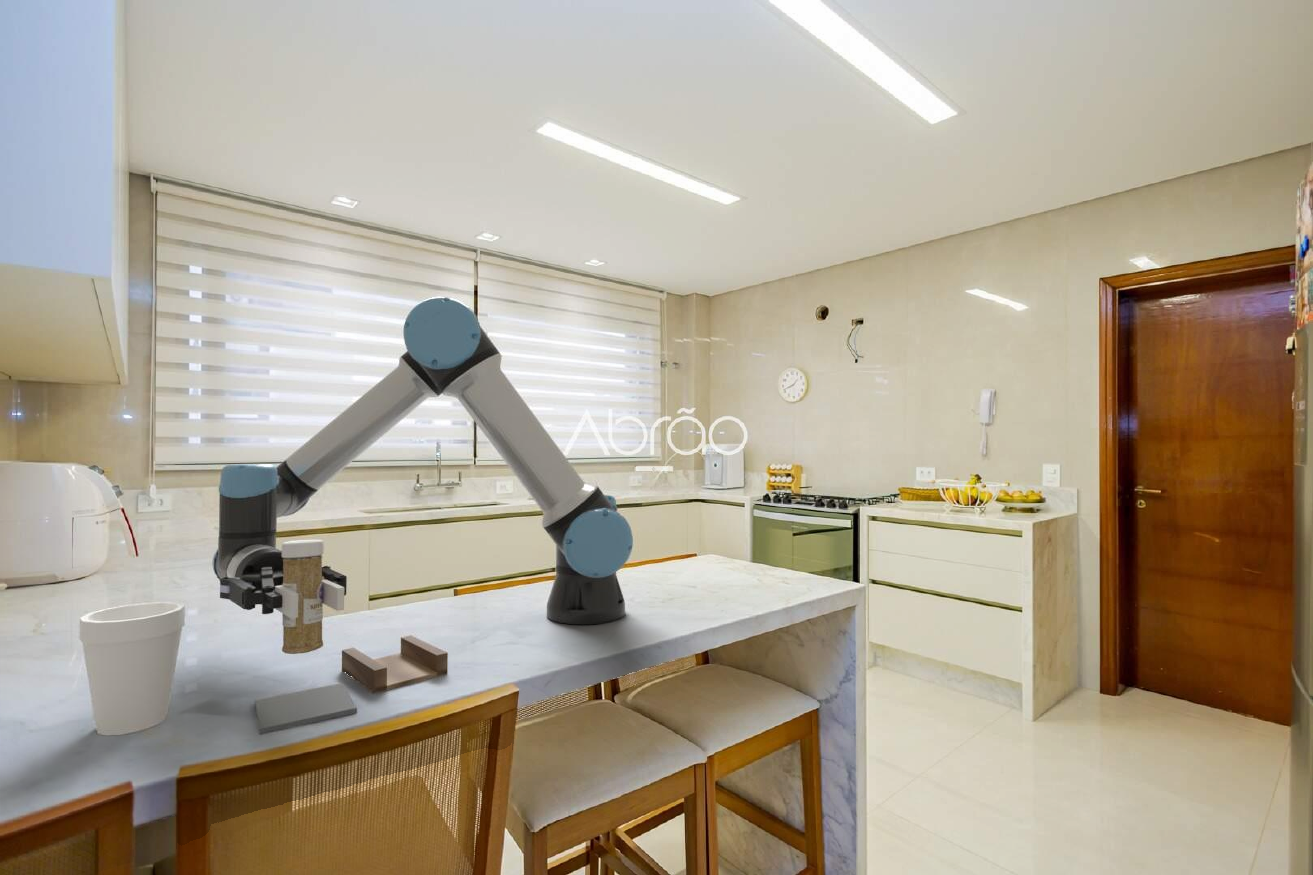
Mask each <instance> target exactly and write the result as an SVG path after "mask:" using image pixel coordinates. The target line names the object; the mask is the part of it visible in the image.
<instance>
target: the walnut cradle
mask: <svg viewBox="0 0 1313 875" xmlns="http://www.w3.org/2000/svg"><path fill="white" fill-rule="evenodd" d="M448 656H449V654H448V652H447V651H444V650H442V649H441V648H438V647H437V646H436V645H432V644H431V643H428V642H426V641H424V640H422V639H419V638H417V637H415V636H413V635H407V636H402V637H400V653H397V654H396V653H395V654H391V655H386V656H384V657H378V658H372V657H370V656H368V655H366V654H365V653H363V652H361V651H360V650H358V649H357V648H355V647H350V648H346V649H342V650H341V671H342V672H343V673H344V672H346V675H347V674H348V675H349V676H348V675H347V676H348V677H350V676H352V677H353V678H354V679H355V680H354V679H353V678H352V679H353V680H354V681H355V682H357V681H358V682H359V683H358V682H357V683H358V684H360V685H362V686H363V687H364V686H365V688H366V689H367V690H368V691H370V690H371V691H370V692H371V693H373V694H374V693H375V694H377V693H381V692H384V691H385V690H386V691H389V690H392V689H396V688H400V686H401V687H403V686H408V685H411V684H414V683H418V682H422V681H427V680H429V679H430V680H431V679H434V678H437V677H441V676H444V675H448V673H449V672H448V669H449V668H448V660H449V659H448ZM388 689H389V690H388ZM386 691H385V692H386Z"/></svg>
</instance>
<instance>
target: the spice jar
mask: <svg viewBox="0 0 1313 875" xmlns="http://www.w3.org/2000/svg"><path fill="white" fill-rule="evenodd" d="M324 547H325V546H324V541H323V539H315V538H313V539H312V538H311V539H298V540H297V539H295V540H289V541H283V542H282V543H281V551H282V557H283V558H284V559H283V563H284V564H283V586H285V587H286V588H288V589H290V590H292V591H294V592H296V593H298V617H297V618H289V617H287V616H286V615H284V614H283V613H282V628H283V632H282V633H283V634H282V635H283V646H282V647H281V651H282V652H283V653H284V654H289V655H291V654H292V655H297V654H308V653H310V652H313V651H316V650H319V649H321V648H322V647H324V641H323V613H324V611H323V605H324V604H323V598H322V567H323V561H322V559H323V555H324V553H325V552H324Z"/></svg>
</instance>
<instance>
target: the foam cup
mask: <svg viewBox="0 0 1313 875" xmlns="http://www.w3.org/2000/svg"><path fill="white" fill-rule="evenodd" d="M185 607H186V606H185V605H184V604H183V603H181V602H173V601H157V602H155V601H154V602H143V603H135V604H126V605H125V604H124V605H119V606H114V607H113V606H112V607H109V608H103V609H100V610H97V611H96V610H95V611H92V612H88V613H86V614H84V615H82V616H81V617H79V636H78V637H79V638H78V639H79V640H80V641H81V643H82V648H83V654H84V656H83V657H84V660H85V668H86V674H87V680H88V681H87V682H88V688H89V694H90V698H91V707H92V713H93V720H94V725H95V727H96V729H95V730H96V732H97V734H98V735H102V736H117V735H118V736H121V735H126V734H130V733H132V734H133V733H137V732H139V731H143V730H146V729H149V728H152V727H154V726H156V725H158V724H160V723H162V722H164V720H165V719H166V718H167V716H168V712H169V707H170V702H171V701H170V700H171V694H172V689H173V684H174V678H175V672H176V666H177V662H178V660H177V659H178V655H179V648H180V642H181V635H182V631H183V627H184V626H185V625H186V624H185V623H186V622H185V620H186V619H185V618H186V613H185V612H186V608H185Z"/></svg>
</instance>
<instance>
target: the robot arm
mask: <svg viewBox="0 0 1313 875" xmlns="http://www.w3.org/2000/svg"><path fill="white" fill-rule="evenodd" d="M403 341H404V344H405V348H406V350H407V351H406V352H404V353H403V354H402V355H400V356H399V358H398V366H396V367H395V368H394V369H393V370H392V371H390V372H389V374H387V375H386V376H384V378H382V379H381V380H380V381H379V382H378V383H376V384H375V385H374V386H372V387H371V388H370V389H369V390H368V391H366V392H365V393H364V394H363V395H362V396H361V397H359V398H358V399H357V400H355V402H353V403H352V404H351V405H349V407H347V408H346V409H345V410H344V411H343V412H341V413H340V414H339V415H338V416H336V417H335V418H334V419H333V420H332V421H330V422H329V423H328V424H326V425H325V426H324V427H323V428H322V429H321V430H319V431H318V432H317V433H315V435H314V436H312V437H311V438H310V439H309V440H308V441H306V442H305V443H304V444H303V445H302V446H300V447H299V448H298V449H297V450H296V451H294V452H293V453H292V454H291V455H289V456H288V457H287V458H286V459H285V460H284V461H283V462H281V463H280V464H278V465H277V466H276V465H274V464H270V463H269V464H267V463H256V464H255V463H239V464H238V463H236V464H233V463H231V464H226V465H225V466H223V467H222V468H221V472H220V480H219V485H218V492H219V504H218V505H219V510H218V511H219V517H218V518H219V522H218V523H219V524H218V526H219V529H218V536H217V537H218V541H217V542H218V543H217V544H218V547H217V550H216V551H215V553H214V554H213V558H212V570H213V572H214V574H215V576H216V578H217V579H218V580H219V598H220V599H223V600H224V599H225V600H229V601H230V602H232V603H234V604H235V605H237V606H238V607H240V608H241V609H243V610H247V611H251V610H252V609H255V608H256V605H261V614H262V615H270V614H273V613H274V609H275V610H277V611H278V612H279V613H281V614H282V615H283V614H284V615H286V616H287V617H289V618H297V617H298V593H296V592H294V591H292V590H290V589H288V588H286V587H285V586H283V564H284V563H283V559H284V558H283V557H282V549H281V550H280V549H278V548H277V525H278V524H277V520H278V518H280V517H287V516H291V515H294V514H295V513H297V512H298V511H300V510H302V509H303V508H304V507H305V506H307V504H308V502H309V500H310V499H311V497H313V496H314V495H315V494H316V493H317V492H318V491H319V490H320V489H321V488H322V487H324V486H325V485H326V484H327V483H329V482H330V481H331V480H332V479H333V478H334V477H335V476H337V475H338V474H339V473H340V472H341V471H343V469H346V467H347V466H348V465H350V464H351V463H352V462H353V461H355V460H356V459H357V458H358V457H359V456H360V455H362V454H363V453H364V452H366V450H368V449H369V448H370V447H371V446H373V444H375V443H376V442H377V441H378V440H379V439H380V438H382V437H383V436H384V435H386V433H388V432H389V431H391V429H392V428H394V427H395V426H396V425H397V424H398V423H400V422H401V421H402V420H404V418H405V417H407V416H408V415H409V414H411V412H413V411H414V410H415V409H417V407H418V406H420V405H421V404H422V403H423V402H425V401H426V400H427V399H428V398H438V397H440V395H443V396H446V397H452V398H455V399H457V400H458V401H459V402H460V404H461V406H462V407H463V408H464V409H465V410H466V412H467V413H468V414H469V416H470V417H471V418H472V420H473V421H474V422H475V424H476V425H477V426H478V428H479V429H480V430H481V431H482V433H483V434H484V436H485V437H486V438H487V439H488V441H489V442H490V443H491V445H492V446H493V447H494V448H495V450H496V451H497V453H498V454H499V455H500V456H501V458H502V459H503V461H504V462H505V464H507V466H508V467H509V469H510V470H511V471H512V473H513V474H514V476H515V477H516V479H517V480H518V481H519V482H520V483H521V485H522V486H523V487H524V489H525V490H526V491H527V492H528V494H529V495H530V496H531V497H532V498H531V499H533V501H534V502H535V503H536V505H537V506H538V507H539V509H540V510H541V511H542V521H541V526H542V528H543V529H544V530H545V532H546V533H547V534H548V535H549V537H550V538H551V540H552V541H553V543H555V548H556V549H555V564H556V565H555V569H556V570H555V579H554V581H553V584H552V588H551V589H550V593H549V597H548V600H547V603H546V617H547V619H549V620H550V621H553V622H557V623H561V624H567V625H568V624H569V625H595V624H604V623H609V622H613V621H617V620H619V619H622V618H623V617H624V616H625V615H626V600H625V598H624V595H623V591H622V588H621V586H620V582H619V579H618V575H617V572H618V571H620V569H622V568H623V567H624V566H625V564H627V562H628V560H629V558H630V556H631V553H632V552H633V551H632V550H633V546H634V544H633V543H634V539H633V533H632V529H631V526H630V524H629V522H628V521H627V519H626V518H625V517H624V516H623V515H621V514H620V513H619V512H618V506H617V502H616V501H617V500H616V498H615V497H614V496H613V495H609V494H607V495H605V494H604V493H603V491H602V490H601V489H600V487H599V486H598V485H597V484H595V483H589V482H585V481H584V480H583V479H582V478H581V476H580V475H579V474H578V472H577V471H576V469H575V468H574V467H573V465H572V464H571V462H570V461H569V460H568V458H567V457H566V456H565V455H564V453H563V452H562V450H561V449H560V448H559V447H558V445H557V444H556V442H555V441H554V440H553V438H552V437H551V436H550V434H549V432H548V431H547V430H546V429H545V428H544V426H543V425H542V423H541V422H540V420H539V419H538V418H537V416H535V414H534V413H533V411H532V410H531V408H530V407H529V406H528V404H527V402H525V400H524V399H523V398H522V396H521V395H520V394H519V392H518V391H517V389H516V388H515V387H514V385H513V384H512V383H511V381H510V380H509V379H508V377H507V376H506V374H505V373H504V372H503V370H502V369H501V366H502V365H501V363H502V358H503V356H502V354H501V353H500V351H499V350H498V348H497V347H496V346H495V345H494V343H493V342H492V340H491V339H490V337H489V336H488V335H487V333H486V332H485V331H484V329H483V328H482V327H481V325H480V321H479V318H478V317H477V314H475V312H474V311H473V310H472V309H471V308H470V307H469V306H467V305H466V304H464V303H463V302H462V301H459V300H458V299H454V298H451V297H447V296H435V297H430V298H427V299H425V300H422V301H421V302H419V303H417V304H416V305H415V306H414V307H413V308H412V309H411V310H410V311H409V312H408V315H407V317H406V319H405V321H404V325H403ZM347 579H348V577H347V575H344V574H342V573H340V572H337V571H335V570H333V569H331V566H328V565H324V566H322V598H323V603H322V605H325V606H327V607H329V608H331V609H333V610H335V611H336V612H339V611H345V596H346V595H347V586H348V585H347V581H348V580H347Z"/></svg>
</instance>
